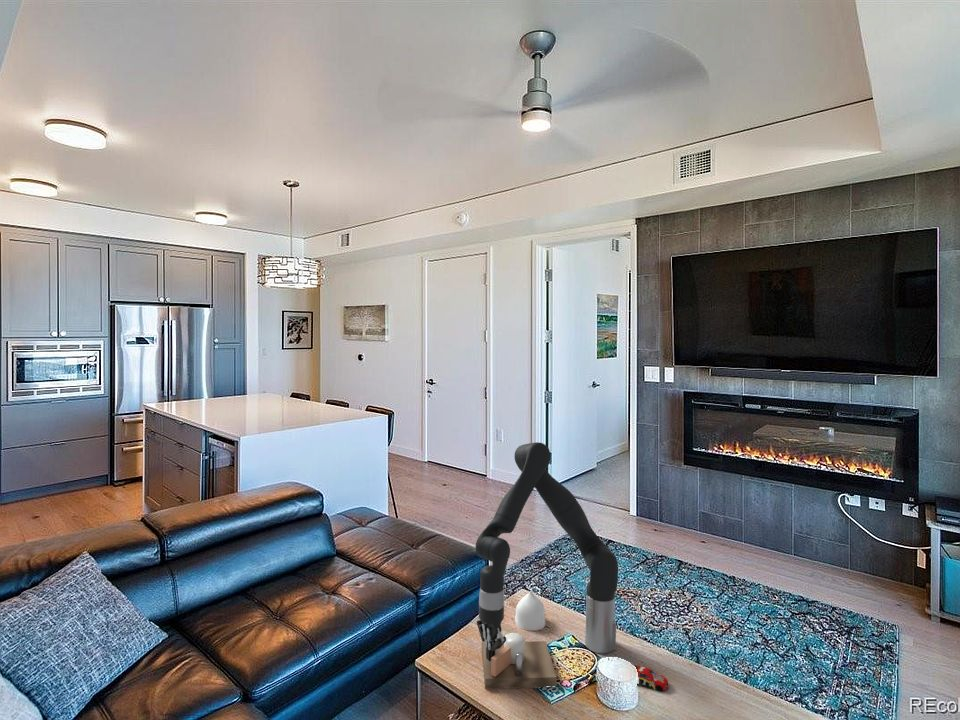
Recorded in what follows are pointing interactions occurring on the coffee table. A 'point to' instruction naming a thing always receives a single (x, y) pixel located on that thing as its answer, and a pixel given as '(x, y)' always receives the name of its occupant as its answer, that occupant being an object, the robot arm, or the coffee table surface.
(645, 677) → the race car
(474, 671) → the coffee table surface
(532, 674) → the base
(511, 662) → the white cylinder with panel
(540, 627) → the teardrop
